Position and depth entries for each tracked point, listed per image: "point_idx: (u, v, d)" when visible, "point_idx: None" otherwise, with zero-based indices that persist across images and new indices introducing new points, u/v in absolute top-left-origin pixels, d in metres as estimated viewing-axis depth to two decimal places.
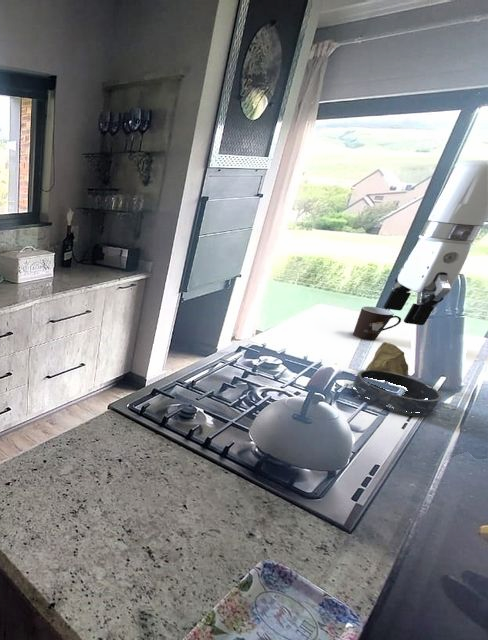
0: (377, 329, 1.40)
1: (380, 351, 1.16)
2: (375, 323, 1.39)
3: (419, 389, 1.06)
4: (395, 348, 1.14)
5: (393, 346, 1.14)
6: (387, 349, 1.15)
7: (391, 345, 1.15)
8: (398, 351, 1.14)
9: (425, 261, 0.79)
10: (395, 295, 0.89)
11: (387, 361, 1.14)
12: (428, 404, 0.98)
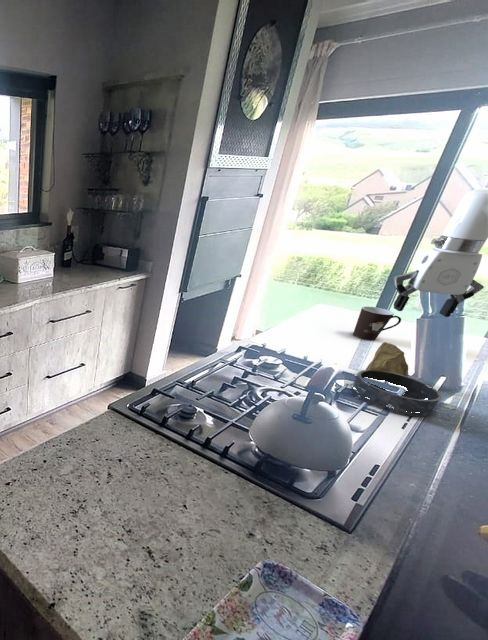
0: (377, 329, 1.40)
1: (380, 351, 1.16)
2: (375, 323, 1.39)
3: (419, 389, 1.06)
4: (395, 348, 1.14)
5: (393, 346, 1.14)
6: (387, 349, 1.15)
7: (391, 345, 1.15)
8: (398, 351, 1.14)
9: None
10: (447, 302, 1.04)
11: (387, 361, 1.14)
12: (428, 404, 0.98)
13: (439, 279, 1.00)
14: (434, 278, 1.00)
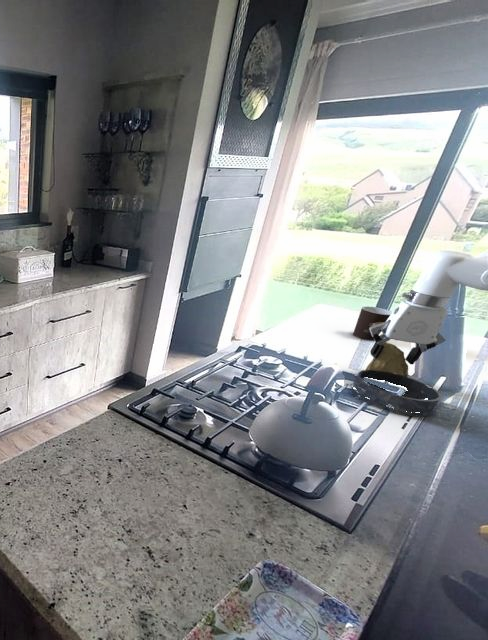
0: None
1: None
2: (375, 323, 1.39)
3: (419, 389, 1.06)
4: (395, 348, 1.14)
5: (393, 346, 1.14)
6: (387, 349, 1.15)
7: (391, 345, 1.15)
8: (398, 351, 1.14)
9: None
10: (412, 350, 1.13)
11: (387, 361, 1.15)
12: (428, 404, 0.98)
13: (408, 329, 1.08)
14: (404, 328, 1.09)
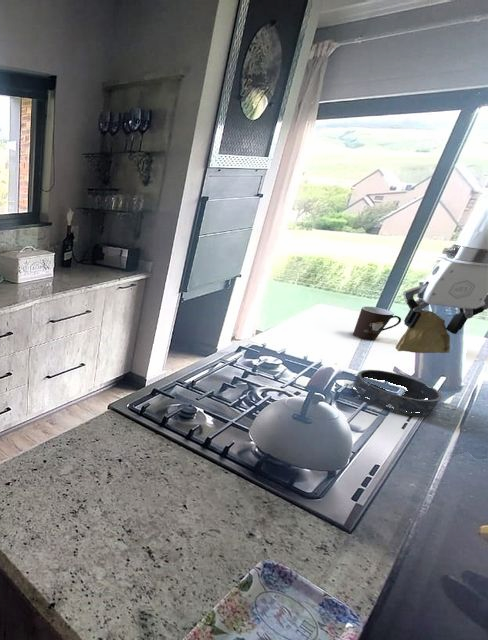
0: (377, 329, 1.40)
1: None
2: (375, 323, 1.39)
3: (419, 389, 1.06)
4: (433, 315, 0.98)
5: (431, 313, 0.98)
6: (424, 318, 0.99)
7: (428, 312, 0.98)
8: (437, 319, 0.98)
9: None
10: (454, 317, 0.97)
11: (425, 331, 0.98)
12: (428, 404, 0.98)
13: (451, 292, 0.92)
14: (446, 290, 0.92)
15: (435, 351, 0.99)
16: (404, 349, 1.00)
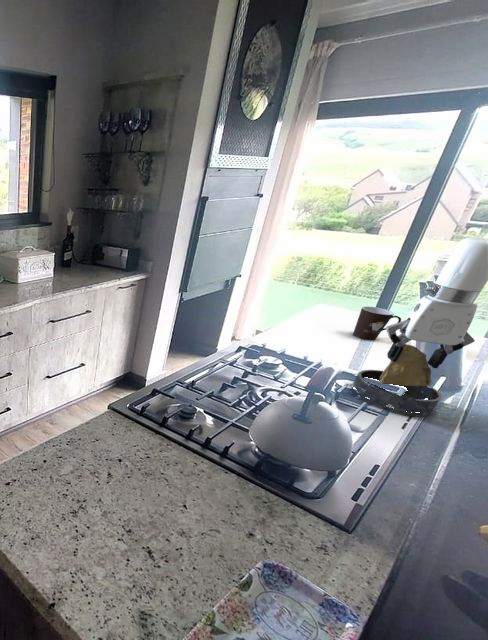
0: (377, 329, 1.40)
1: None
2: (375, 323, 1.39)
3: (419, 389, 1.06)
4: (415, 350, 1.01)
5: (413, 348, 1.01)
6: (406, 352, 1.01)
7: (410, 347, 1.01)
8: (419, 353, 1.00)
9: None
10: (435, 352, 0.99)
11: (407, 365, 1.01)
12: (428, 404, 0.98)
13: (432, 329, 0.95)
14: (426, 328, 0.95)
15: (417, 384, 1.02)
16: (387, 382, 1.03)
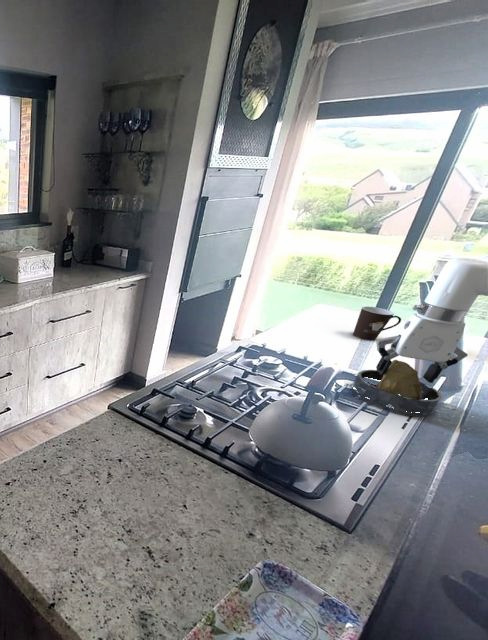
0: (377, 329, 1.40)
1: (390, 370, 1.04)
2: (375, 323, 1.39)
3: None
4: (407, 366, 1.03)
5: (405, 364, 1.03)
6: (398, 368, 1.03)
7: (403, 363, 1.03)
8: (411, 370, 1.02)
9: None
10: (430, 367, 1.01)
11: (399, 381, 1.03)
12: (428, 404, 0.98)
13: (421, 346, 0.97)
14: (416, 345, 0.97)
15: None
16: None
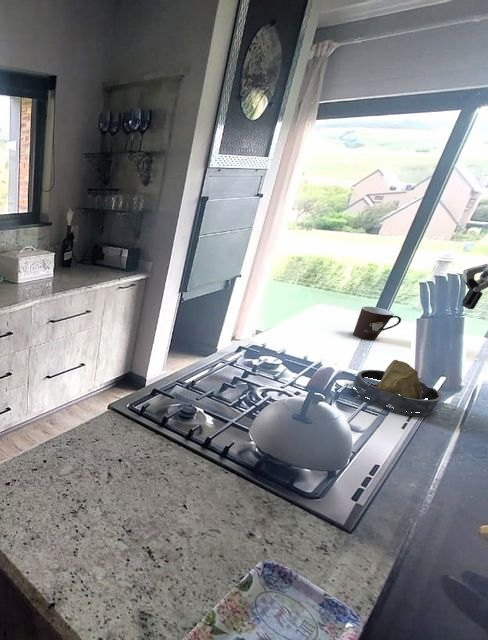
0: (377, 329, 1.40)
1: (390, 370, 1.04)
2: (375, 323, 1.39)
3: None
4: (407, 366, 1.03)
5: (405, 364, 1.03)
6: (398, 368, 1.03)
7: (403, 363, 1.03)
8: (411, 370, 1.02)
9: None
10: None
11: (399, 381, 1.03)
12: (428, 404, 0.98)
13: None
14: None
15: None
16: None
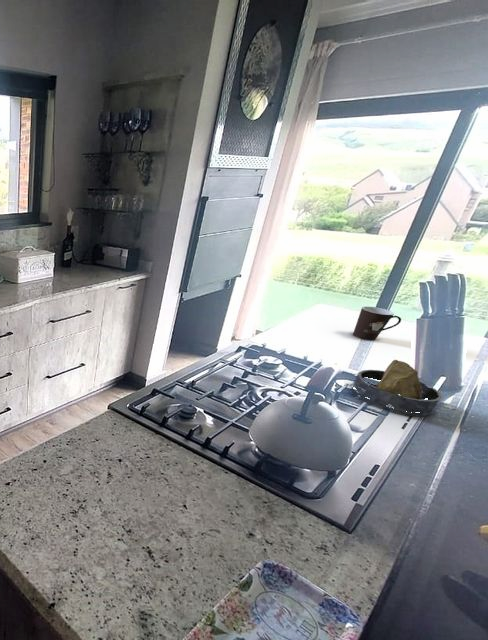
0: (377, 329, 1.40)
1: (390, 370, 1.04)
2: (375, 323, 1.39)
3: None
4: (407, 366, 1.03)
5: (405, 364, 1.03)
6: (398, 368, 1.03)
7: (403, 363, 1.03)
8: (411, 370, 1.02)
9: None
10: None
11: (399, 381, 1.03)
12: (428, 404, 0.98)
13: None
14: None
15: None
16: None
